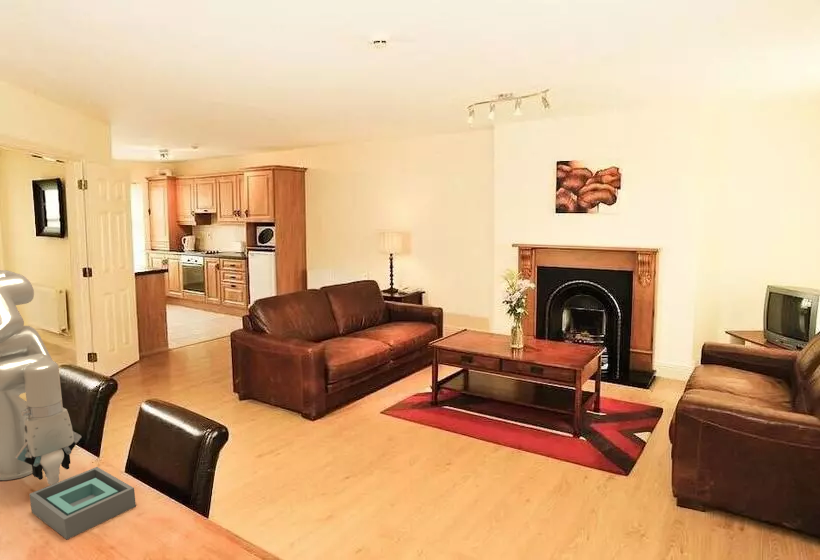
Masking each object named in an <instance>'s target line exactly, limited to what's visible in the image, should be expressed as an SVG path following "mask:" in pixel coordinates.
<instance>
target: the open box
mask: <svg viewBox="0 0 820 560" xmlns="http://www.w3.org/2000/svg"><path fill="white" fill-rule="evenodd" d="M28 495H29V503H30V509H31V513H32V514H33V515H34V516H36V517H37V518H38V519H39V520H41V521H42V522H43V523H45V524H46V525H47V526H49V527H50V528H51V529H53V531H55V532H56V533H58V534H59V535H60V536H61V537H62V538H64V540H70V539H72V538H73V537H75V536H77V535H80V534H81V533H84V532H86V531H89V530H90V529H92V528H94V527H97V526H98V525H100V524H103V523H105V522H106V521H108V520H111V519H113V518H114V517H117V516H119V515H121V514H123V513H125V512H128V511H129V510H131V509H133V508H136V507H137V502H136V495H135V487H133V486H131V485H129V484H128V483H126V482H124V481H123V480H121V479H119V478H118V477H115V476H114V475H112V474H110V473H108V472H107V471H105V470H103V469H102V468H100V467H98V466H96V467H93V468H90V469H88V470H86V471H83V472H80V473H78V474H75V475H73V476H71V477H68V478H65V479H63V480H59V481H58V482H57V483H55V484H53V485H50V484H49V485H48V486H46V487H43V488H40V489H38V490H35V491H33V492H31V493H29V494H28Z"/></svg>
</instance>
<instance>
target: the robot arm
mask: <svg viewBox="0 0 820 560" xmlns="http://www.w3.org/2000/svg"><path fill="white" fill-rule="evenodd" d="M34 296H35V291H34V287H33V285H32V282H31V281H30V280H29V279H28V278H27V277H26V276H24V275H22V274H20V273H17V272H14V271H11V270H6V269H3V270H0V481H10V480H16V479H20V478H23V477H27V476H30V475H33V477H34V478H36V479H38V480H40V481H42V480H43V479H44V475H43V474H44V473H43V472H44V471H43V469H42V465H40V464H39V462H40V459H41V456H42V455H45V454H48V453H51V452H54V451H57V450H60V449H62V450H63V452H64V458H63V461H62V463H61V465H60V467H62V468H63V469H64V470H70V465H71V454H72V451H73V450H74V448H75V447H76V445H77V443H78V442H79V441H80V440H81V439H82V435H81V434H79V433H78V432H75V431H74V429H73V425H72V422H71V418H70V414H69V412H68V409H67V408H65V407H63V406H64V405H63V398H62V397H63V396H62V387H61V377H60V367H59V364H58V363H57V362H56V361H54V360H53V358H52V356H51V354H50V353H49V351H48V348H47V347H46V344H45V343H44V341H43V339H42V337H41V335H40V333H39V332H38V331H37V330H36V329H35V328H34V327H32V326H30V325H25V320H24V319H23V317H22V315H21V313H20V311H19V310H18V307H17V306H19V305H20V306H21V305H25V304H26V305H27V304H29V303H31V302H32V301H33V300H34ZM22 394H25V399H26V400H25V399H23V398H21V396H20V395H22Z"/></svg>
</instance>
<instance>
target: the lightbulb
mask: <svg viewBox="0 0 820 560" xmlns="http://www.w3.org/2000/svg"><path fill="white" fill-rule="evenodd" d="M63 458H64V452H63V450H62V449H60V450H57V451H54V452H51V453H48V454H45V455H42V456H41V459H40V462H39V464H40V465H42V472H44V473H43V474H44V476H45V478H46V481H47V484H48V485H49V486H50V485H53V484H55V483H58V482H60V468H61V463H62V461H63Z"/></svg>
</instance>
